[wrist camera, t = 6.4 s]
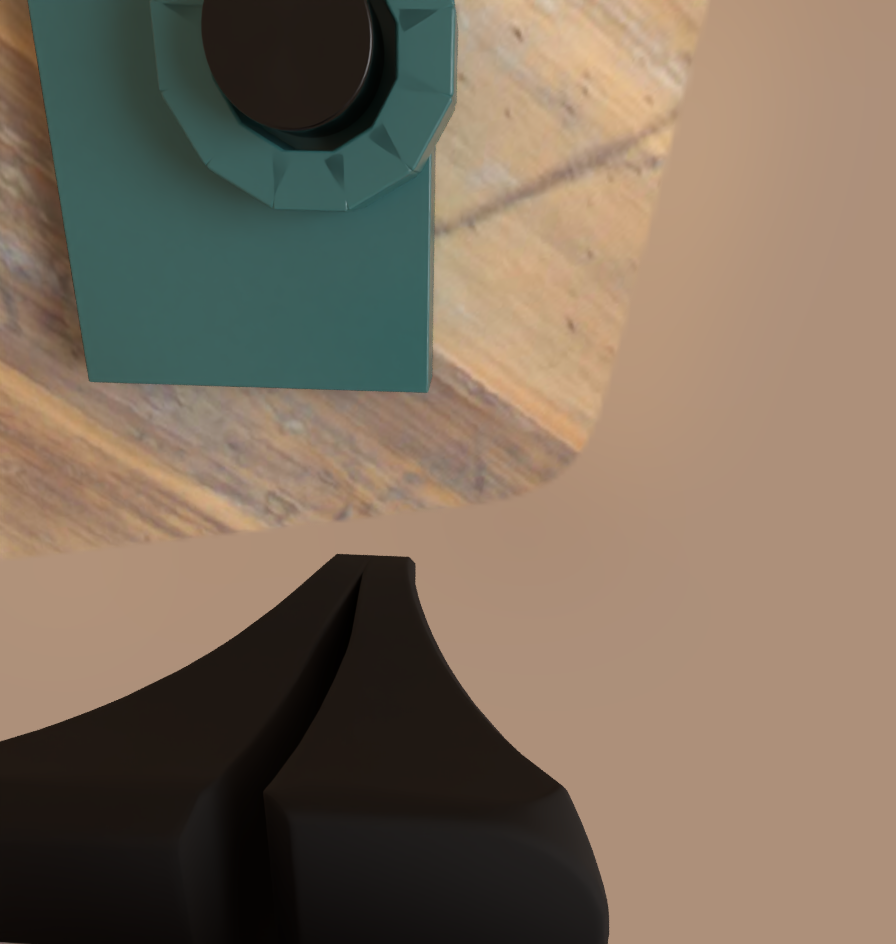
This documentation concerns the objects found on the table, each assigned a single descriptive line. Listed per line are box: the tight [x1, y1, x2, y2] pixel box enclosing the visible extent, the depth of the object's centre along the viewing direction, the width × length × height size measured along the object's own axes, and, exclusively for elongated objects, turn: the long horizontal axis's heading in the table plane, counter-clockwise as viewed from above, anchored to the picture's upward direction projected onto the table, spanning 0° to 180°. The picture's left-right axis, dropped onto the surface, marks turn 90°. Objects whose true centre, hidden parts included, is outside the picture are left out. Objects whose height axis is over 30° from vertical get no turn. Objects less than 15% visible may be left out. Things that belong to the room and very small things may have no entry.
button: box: [201, 0, 384, 138], centre depth 14 cm, size 3×3×2 cm
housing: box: [28, 0, 458, 393], centre depth 17 cm, size 12×10×4 cm
